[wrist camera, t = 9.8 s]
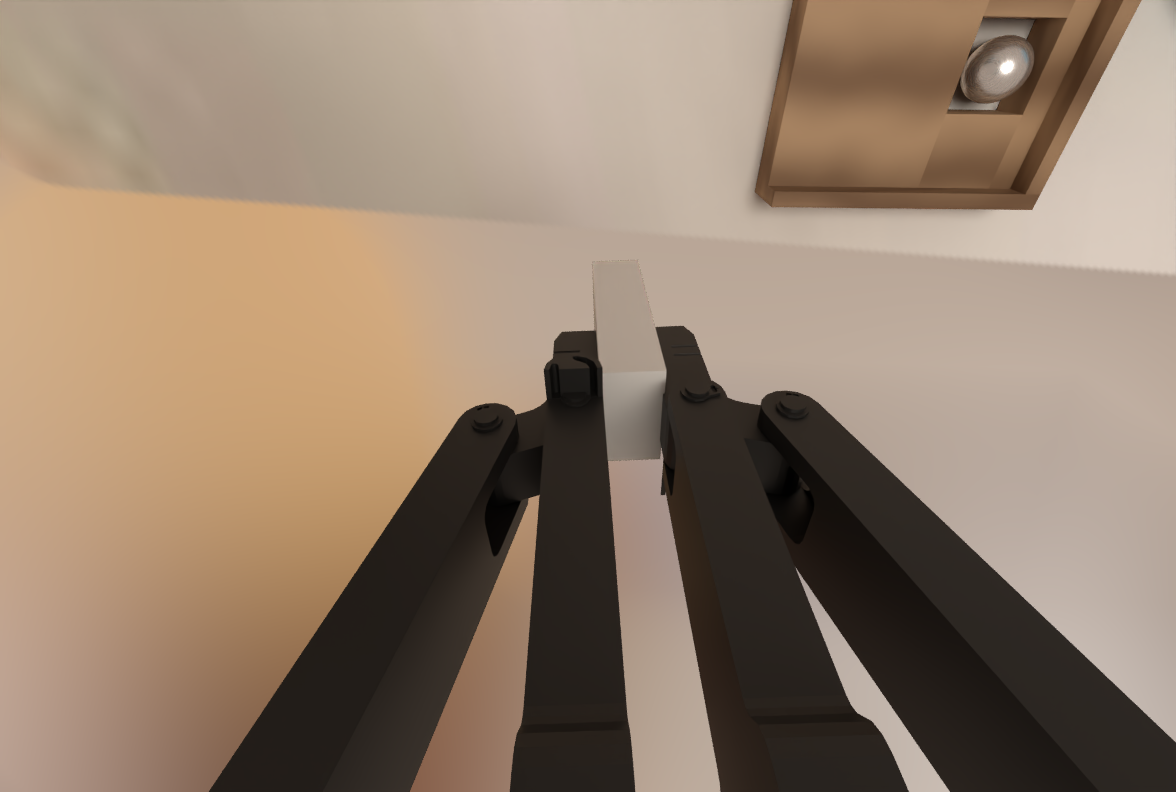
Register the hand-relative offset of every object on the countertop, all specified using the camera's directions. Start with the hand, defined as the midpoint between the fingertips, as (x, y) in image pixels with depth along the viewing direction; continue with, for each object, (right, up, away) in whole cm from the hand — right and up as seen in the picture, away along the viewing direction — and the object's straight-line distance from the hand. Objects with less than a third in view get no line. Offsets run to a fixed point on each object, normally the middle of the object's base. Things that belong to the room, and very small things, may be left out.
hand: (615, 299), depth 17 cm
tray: (+21, +18, +16) cm, 32 cm away
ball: (+26, +18, +15) cm, 35 cm away
